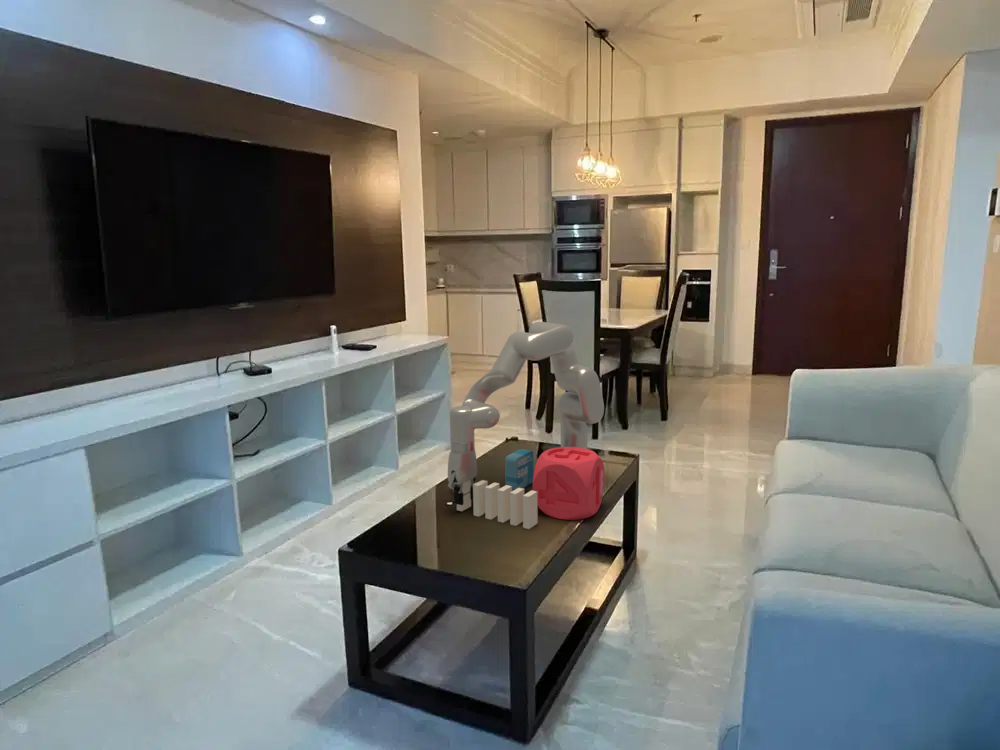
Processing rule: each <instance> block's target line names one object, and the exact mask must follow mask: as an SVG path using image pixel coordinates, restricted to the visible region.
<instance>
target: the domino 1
mask: <svg viewBox="0 0 1000 750" xmlns="http://www.w3.org/2000/svg"><path fill="white" fill-rule="evenodd" d="M456 482H458V481H457V480H456ZM457 487H458V488H459V485H457ZM470 488H471V482H470V480H469V481H467V482H465V483H463V487H462V493H463V505H459V504H456V511H459V512H464V511H465V510H467V509H469V508H471V507H472V500H471V495H470V492H471V491H470Z"/></svg>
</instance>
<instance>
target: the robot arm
mask: <svg viewBox="0 0 1000 750" xmlns="http://www.w3.org/2000/svg"><path fill="white" fill-rule="evenodd" d="M573 342H574V333H573V330H572V329H571V328H570V327H569V326H568V325H566V324H563V323H561V324H560V323H554V322H553V323H552V322H546V321H537V322H534V323H532V324H531V325H530V327H529V329H528V332H524V331H523V332H522V331H515V332H513V333H511V335H509V336H508V338H507V340H506V342H504V346H503V347H502V349H501V351H500V353H499V355H498V357H497V358H496V361H495V362H494V364H493V366H492V368H491V369H490V370H489V371H488V372H487V373H485V374H484V375H483V376H482V377H481V378H480V379H478V380H477V381H476V382H475V383H474V384H473V385H472V387H470V389H469V391H468V393H467V395H466V396H465V398H464V400H463V401H462V405H458V406H454V407H452V408H451V409H450V411H449V428H450V429H449V435H450V436H449V437H450V440H449V441H450V451H449V454H448V459H447V460H448V461H447V482H448V484H447V487H448V488H450V489H451V490H452V492H453V500H454V501H453V503H454V504H455V505H457V504H459V505H463V493H462V487H463V483H465V482H467V481H469V480H470V482H471V488H470V491H471V492H470V495H471V501H472V500H473V484H475V483H476V482H475V481H476V479H477V478H478V475H479V471H478V463H477V461H478V460H477V452H476V449H475V447H476V446H475V445H476V443H475V442H476V441H475V430H479V429H480V430H481V429H483V430H484V429H485V430H486V429H491V428H494V427H495V426H496V425H497V424H498V423H499V421H500V417H501V415H500V412H499V410H498V409H497V407H495V406H493V405H492V404H488V403H486V401H487V400H488V398H489V397H490V396H491V395H492V394H493V393H495V392H496V391H499V389H504V388H506V387H509V386H510V385H512V384H514V383H515V382H516V381H517V379H518V377H519V375H520V373H521V371H522V369H523V367H524V365H525V364H526V361H527V360H530V361H541V360H545V359H548V358H549V357H550V360H551V363H552V368H553V372H554V376H555V378H554V379H555V381H556V384H557V386H558V387H559V388H560V389H561V390H563V391H566V392H564V393H563V394H562V393H561V395H560V397H559V399H558V400H557V401H558V402H557V412H558V417H559V423H560V424H559V425H560V447H579V448H585V449H588V436H589V435H588V434H589V433H588V425H587V424H591V425H593V424H597V423H598V422H600V421H601V420H602V419H603V417H604V414H605V404H604V398H603V392H602V387H601V382H600V378H599V376H598V374H597V372H596V371H595V370H594V369H592V368H591V367H589V366H584V365H580V364H579V362H578V359H577V355H576V350H575V348H574V346H573ZM456 480H457V481H458V482H456ZM457 485H459V488H458V487H457Z"/></svg>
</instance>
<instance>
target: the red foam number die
mask: <svg viewBox="0 0 1000 750" xmlns="http://www.w3.org/2000/svg"><path fill="white" fill-rule="evenodd" d="M605 476H606V474H605V464H604V462H603V459H602V458H601V457H600V456H599V455H598V454H597V453H596V452H595V451H593V450H591V449H589V448H587V449H585V448H579V447H561V446H558V447H553V448H549V449H546V450H543V452H542V453H541V454H540V455H539V457H538V458H537V461H536V463H535V465H534V468H533V482H532V491H537V508H539V509H540V511H541V512H543V513H544V514H545V515H546V516H548V517H550V518H554V519H559V520H564V521H565V520H566V521H567V520H568V521H576V520H584V519H588V518H591V517H593V516H594V515H595V514H596V513H597V512H598V511H599V509H600V508H601V507H600V506H601V504H602V500H603V495H604V492H605V491H604V490H605V482H606V481H605V480H606V479H605V478H606V477H605Z"/></svg>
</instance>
